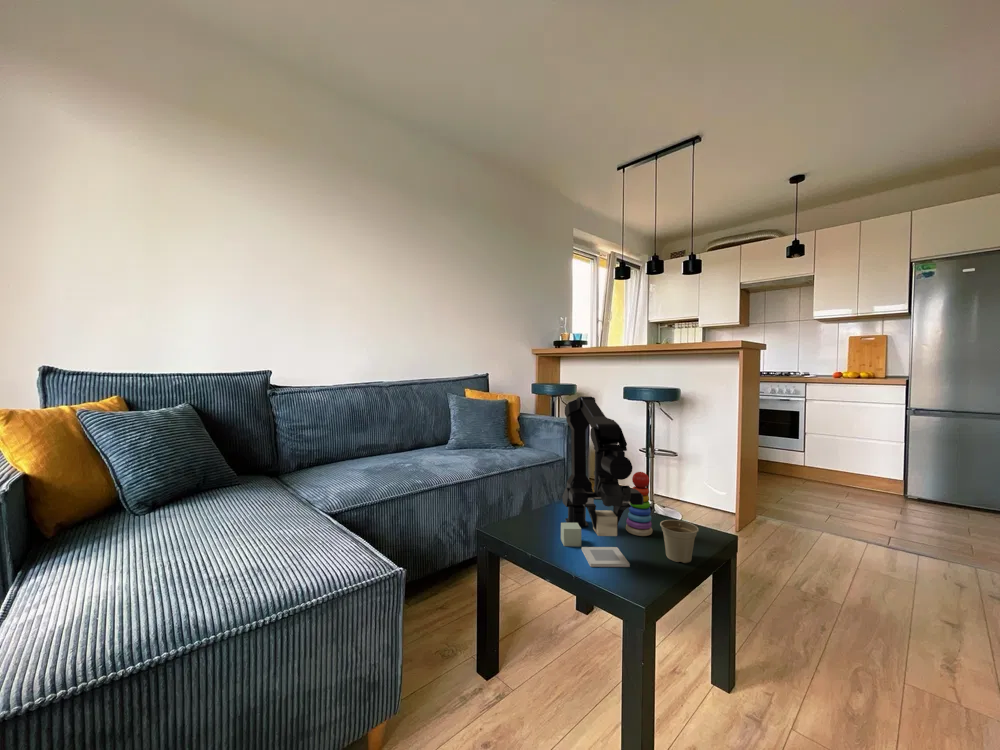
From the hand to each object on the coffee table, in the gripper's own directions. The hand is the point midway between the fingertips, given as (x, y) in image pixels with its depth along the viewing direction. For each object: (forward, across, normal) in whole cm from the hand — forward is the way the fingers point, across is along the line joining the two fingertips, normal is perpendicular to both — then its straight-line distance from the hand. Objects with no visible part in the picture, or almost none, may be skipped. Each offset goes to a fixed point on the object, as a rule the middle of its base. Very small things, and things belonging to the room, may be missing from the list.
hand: (604, 528), depth 108 cm
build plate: (+8, 0, 0) cm, 8 cm away
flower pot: (+8, +20, 0) cm, 22 cm away
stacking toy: (+8, +16, +18) cm, 25 cm away
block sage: (+8, -7, +10) cm, 15 cm away
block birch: (+1, 0, 0) cm, 1 cm away
